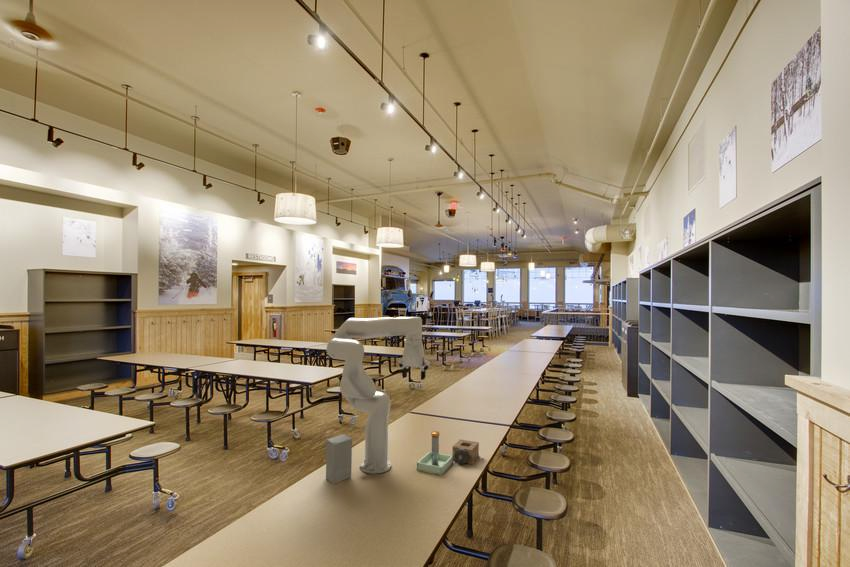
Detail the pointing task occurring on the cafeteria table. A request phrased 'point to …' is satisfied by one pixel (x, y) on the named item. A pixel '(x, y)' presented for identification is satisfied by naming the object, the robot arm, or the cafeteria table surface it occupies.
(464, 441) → the block
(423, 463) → the tray
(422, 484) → the cafeteria table surface
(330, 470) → the skincare box
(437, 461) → the lock pin
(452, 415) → the cafeteria table surface
